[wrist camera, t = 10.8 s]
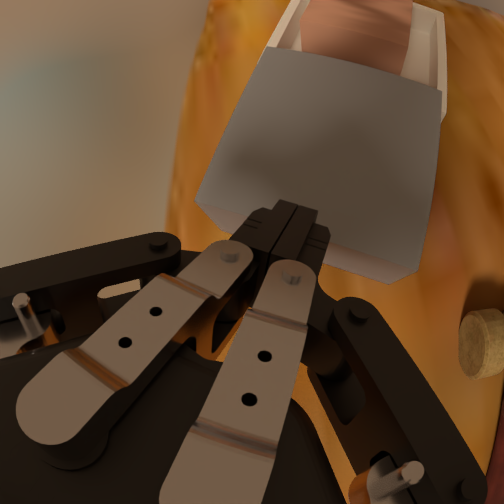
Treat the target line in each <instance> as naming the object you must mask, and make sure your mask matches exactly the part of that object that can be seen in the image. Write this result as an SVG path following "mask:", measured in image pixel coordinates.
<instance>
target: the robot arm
mask: <svg viewBox="0 0 504 504" xmlns="http://www.w3.org/2000/svg"><path fill="white" fill-rule="evenodd" d="M317 215H318V210H315V209H312V208H308V207H305V206H302V205H298V204H295V203H292V202H288V201H285V200H282V199H279V200H278V202H277V203H276V204H275V206H274V207H273V208H272V210H271V209H267V208H264V207H262V208H260V209H257V210H255V211H253V212H252V213H251V214H250V215H249V216H248V217H247V219H246V220H245V221H244V222H243V224H242V225H241V226H240V227H239V228H238V229H237V230H236V232H235V233H234V234H233V235H232V236H231V237H230V239H229V240H221V241H217V242H214V243H212V244H211V245H209V246H208V247H207V248H206V249H205V250H204V251H203V252H195V251H186V250H181V242H180V240H179V239H178V238H177V237H176V236H174V235H173V234H170V233H166V232H153V233H148V234H143V235H139V236H134V237H129V238H125V239H120V240H116V241H111V242H107V243H102V244H98V245H93V246H89V247H85V248H80V249H76V250H72V251H67V252H63V253H59V254H55V255H51V256H47V257H42V258H39V259H35V260H31V261H27V262H22V263H19V264H15V265H11V266H7V267H3V268H0V504H347V503H346V501H345V498H344V496H343V494H342V491H341V489H340V487H339V484H338V482H337V479H336V477H335V475H334V472H333V470H332V467H331V465H330V463H329V460H328V458H327V455H326V453H325V451H324V448H323V446H322V443H321V441H320V438H319V436H318V434H317V431H316V429H315V427H314V424H313V423H312V421H311V419H310V418H309V416H308V415H307V413H306V412H305V411H304V409H303V408H302V407H301V406H300V405H299V404H298V403H297V402H296V401H295V400H293V399H292V398H291V395H292V391H293V387H294V383H295V380H296V376H297V372H298V368H299V364H300V362H301V363H303V364H304V365H306V366H307V367H308V368H307V373H308V377H309V379H310V381H311V383H312V385H313V387H314V389H315V391H316V393H317V395H318V398H319V400H320V402H321V404H322V406H323V408H324V410H325V412H326V414H327V416H328V418H329V420H330V422H331V424H332V426H333V428H334V430H335V432H336V434H337V437H338V439H339V441H340V443H341V445H342V447H343V449H344V451H345V453H346V455H347V457H348V459H349V461H350V463H351V465H352V467H353V469H354V471H355V473H356V475H357V476H356V477H355V478H354V480H353V481H352V483H351V485H350V487H349V492H348V497H349V502H350V504H484V503H485V501H486V498H487V492H488V485H487V480H486V477H485V475H484V473H483V472H482V470H481V468H480V466H479V465H478V463H477V461H476V459H475V458H474V456H473V454H472V452H471V451H470V449H469V447H468V446H467V444H466V442H465V441H464V439H463V437H462V436H461V434H460V432H459V431H458V429H457V427H456V426H455V424H454V423H453V421H452V419H451V418H450V416H449V415H448V413H447V411H446V410H445V408H444V407H443V405H442V403H441V402H440V400H439V399H438V397H437V396H436V394H435V393H434V391H433V390H432V388H431V387H430V385H429V383H428V382H427V380H426V379H425V377H424V376H423V374H422V373H421V371H420V370H419V368H418V367H417V366H416V364H415V363H414V361H413V360H412V358H411V357H410V355H409V354H408V352H407V351H406V349H405V348H404V347H403V345H402V344H401V342H400V341H399V339H398V338H397V337H396V335H395V334H394V332H393V331H392V330H391V328H390V327H389V325H388V324H387V323H386V321H385V320H384V318H383V317H382V316H381V314H380V313H379V311H378V310H377V309H376V308H375V307H374V306H373V305H372V304H370V303H369V302H367V301H365V300H363V299H360V298H356V297H345V298H342V299H340V300H339V301H336V300H334V299H333V298H331V297H330V296H328V295H327V294H326V293H325V292H324V291H323V290H322V289H321V287H320V285H319V283H318V275H319V272H320V269H321V266H322V263H323V260H324V257H325V254H326V250H327V247H328V244H329V241H330V238H331V234H330V231H329V229H328V227H326V226H323V225H320V224H316V219H317ZM136 279H139V280H140V287H141V289H140V290H137V291H133V292H129V293H125V294H121V295H117V296H113V297H110V298H104V299H103V298H99V297H98V296H97V294H98V292H99V291H100V290H101V289H103V288H104V287H107V286H111V285H116V284H119V283H124V282H128V281H132V280H136ZM248 307H251V308H252V309H248ZM247 309H248V310H247ZM245 312H246V313H245ZM244 314H245V315H244ZM243 315H244V318H243ZM239 326H240V327H239ZM238 328H239V329H238ZM237 329H238V331H237ZM236 331H237V333H236V336H235V338H234V340H233V342H232V345H231V347H230V349H229V351H228V353H227V356H226V358H225V360H224V362H219V361H215V360H216V359H217V357H218V356H219V355H220V353H221V352H222V350H223V349H224V348H225V346H226V345H227V343H228V342H229V340H230V339H231V338H232V336H233V335H234V333H235V332H236Z"/></svg>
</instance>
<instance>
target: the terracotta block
mask: <svg viewBox="0 0 504 504" xmlns="http://www.w3.org/2000/svg"><path fill="white" fill-rule="evenodd" d="M412 7H413V0H310V2H309V4H308V6H307V7H306V9H305V11H304V13H303V15H302V17H301V18H300V20H299V22H300V34H301V48H302V52H307V53H312V54H317V55H322V56H327V57H332V58H336V59H341V60H345V61H349V62H353V63H357V64H361V65H365V66H368V67H372V68H375V69H379V70H382V71H386V72H389V73H392V74H395V75H398V76H400V74H401V71H402V68H403V64H404V61H405V57H406V54H407V50H408V46H409V37H410V28H411V18H412Z"/></svg>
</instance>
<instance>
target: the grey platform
mask: <svg viewBox="0 0 504 504" xmlns="http://www.w3.org/2000/svg"><path fill="white" fill-rule="evenodd" d="M441 109H442V91H440V90H438V89H435V88H433V87H430V86H427V85H425V84H422V83H419V82H416V81H413V80H410V79H408V78H405V77H401V76H398V75H395V74H392V73H389V72H386V71H382V70H379V69H375V68H372V67H368V66H365V65H361V64H357V63H353V62H349V61H345V60H341V59H336V58H332V57H327V56H322V55H317V54H312V53H307V52H301V51H296V50H290V49H283V48H276V47H269V46H266V48H265V50H264V52H263V54H262V56H261V58H260V60H259V62H258V64H257V66H256V67H255V69H254V71H253V73H252V75H251V77H250V79H249V81H248V83H247V85H246V87H245V89H244V91H243V93H242V96H241V98H240V100H239V102H238V104H237V106H236V108H235V110H234V112H233V114H232V116H231V119H230V121H229V123H228V125H227V127H226V129H225V131H224V134H223V136H222V138H221V140H220V142H219V145H218V147H217V149H216V151H215V153H214V156H213V158H212V160H211V163H210V165H209V167H208V169H207V172H206V174H205V176H204V179H203V181H202V183H201V186H200V188H199V190H198V193H197V195H196V198H195V200H194V201H195V202H196V203H197V205H198V206H199V207H200V208H201V209H202V210H203V211H204V212H205V213H206V214H207V215H208V216H209V217H210V218H211V220H212V221H213V222H214V223H215V224H216V225H217V226H218V227H219V228H220V229H221V230H222V231H224V232H228V233H231V234H234V233H235V232H236V230H237V229H238V228H239V227H240V226H241V225H242V224H243V222H244V221H245V220H246V219H247V217H248V216H249V215H250V214H251V213H252V212H253V211H255V210H257V209H260V208H262V207H264V208H267V209H271V210H272V208H273V207H274V206H275V204H276V203H277V202H278V200H279V199H282V200H285V201H288V202H292V203H295V204H298V205H302V206H305V207H308V208H312V209H315V210H318V215H317V219H316V224H320V225H323V226H326V227H328V229H329V231H330V234H331V238H330V241H329V244H328V247H327V250H326V254H325V257H324V260H323V263H324V264H327V265H330V266H334V267H337V268H340V269H343V270H346V271H349V272H352V273H355V274H358V275H361V276H364V277H367V278H370V279H373V280H376V281H379V282H382V283H385V284H388V285H389V284H391V283H393V282H395V281H397V280H400V279H402V278H404V277H406V276H408V275H410V274H412V273H415V272H417V271H418V267H419V263H420V259H421V254H422V250H423V245H424V241H425V236H426V231H427V225H428V220H429V215H430V209H431V203H432V197H433V190H434V183H435V176H436V168H437V159H438V150H439V139H440V126H441Z"/></svg>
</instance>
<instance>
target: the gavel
mask: <svg viewBox="0 0 504 504" xmlns="http://www.w3.org/2000/svg"><path fill="white" fill-rule="evenodd" d="M459 361H460V364H461V367H462V369H463V371H464V373H465V375H466V376H467V377H468V378H470V379H472V380H476V379H480V378H485V377H489V376H493V375H497V374H499V373H500V372H501V371H502V370H503V369H504V311H501V312H500V311H499V310H498V309H495V308H490V309H483V310H476V311H470V312H468V313H467V314H466V315H465V316H464V318H463V320H462V323H461V325H460V329H459ZM486 480H487V485H488V492H487V498H486V501H485V503H484V504H504V397H503V402H502V408H501V414H500V420H499V425H498V431H497V435H496V440H495V445H494V449H493V453H492V457H491V461H490V465H489V469H488V472H487V476H486Z"/></svg>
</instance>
